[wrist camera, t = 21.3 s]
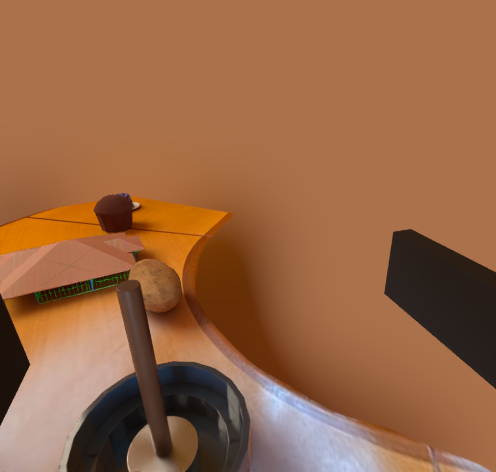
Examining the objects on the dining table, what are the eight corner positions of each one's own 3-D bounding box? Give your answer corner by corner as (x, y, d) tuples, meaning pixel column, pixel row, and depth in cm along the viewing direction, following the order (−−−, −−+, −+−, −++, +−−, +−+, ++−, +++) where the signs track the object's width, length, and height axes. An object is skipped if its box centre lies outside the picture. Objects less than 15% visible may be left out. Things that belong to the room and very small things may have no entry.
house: (153, 277, 71) (147, 243, 68) (-31, 323, 58) (-49, 285, 55) (137, 240, 90) (132, 213, 87) (-4, 270, 77) (-16, 239, 74)
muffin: (97, 224, 104) (90, 194, 100) (132, 218, 108) (127, 189, 104) (100, 237, 94) (92, 204, 90) (139, 229, 98) (133, 198, 94)
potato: (142, 336, 53) (133, 295, 50) (124, 296, 65) (116, 261, 62) (196, 315, 58) (192, 277, 55) (171, 281, 69) (166, 248, 66)
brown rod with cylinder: (215, 461, 34) (192, 280, 25) (158, 523, 29) (106, 327, 20) (174, 422, 38) (142, 256, 29) (119, 471, 33) (62, 290, 25)
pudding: (138, 212, 114) (136, 197, 112) (102, 215, 112) (99, 201, 110) (141, 202, 125) (139, 189, 123) (108, 205, 123) (105, 192, 120)
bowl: (284, 458, 34) (285, 416, 32) (143, 657, 22) (125, 615, 20) (181, 377, 45) (176, 341, 42) (48, 484, 33) (29, 442, 31)
